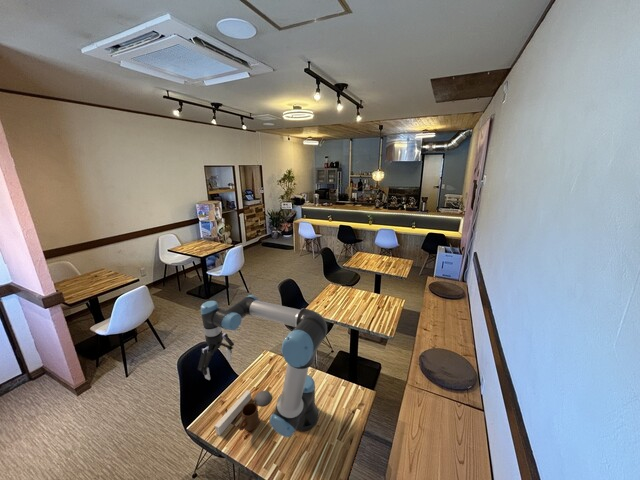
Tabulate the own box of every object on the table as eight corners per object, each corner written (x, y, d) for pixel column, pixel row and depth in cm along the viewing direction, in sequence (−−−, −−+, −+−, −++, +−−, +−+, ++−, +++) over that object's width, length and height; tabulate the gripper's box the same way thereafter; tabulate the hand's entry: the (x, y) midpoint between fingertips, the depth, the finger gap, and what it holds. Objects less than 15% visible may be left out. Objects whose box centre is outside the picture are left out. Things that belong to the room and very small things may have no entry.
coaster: (274, 395, 142) (274, 394, 142) (264, 408, 134) (264, 407, 134) (261, 389, 146) (261, 388, 146) (250, 401, 138) (250, 400, 138)
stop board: (251, 398, 140) (250, 391, 138) (219, 435, 121) (218, 427, 120) (247, 397, 141) (247, 389, 140) (215, 433, 122) (214, 425, 121)
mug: (247, 442, 118) (246, 427, 115) (234, 437, 121) (232, 422, 118) (261, 419, 129) (260, 404, 126) (249, 414, 131) (247, 400, 129)
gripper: (227, 316, 134) (232, 350, 140) (184, 346, 113) (192, 384, 119) (238, 320, 131) (242, 355, 137) (196, 351, 110) (203, 390, 116)
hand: (219, 368), depth 128 cm, fingers open, 13 cm apart
